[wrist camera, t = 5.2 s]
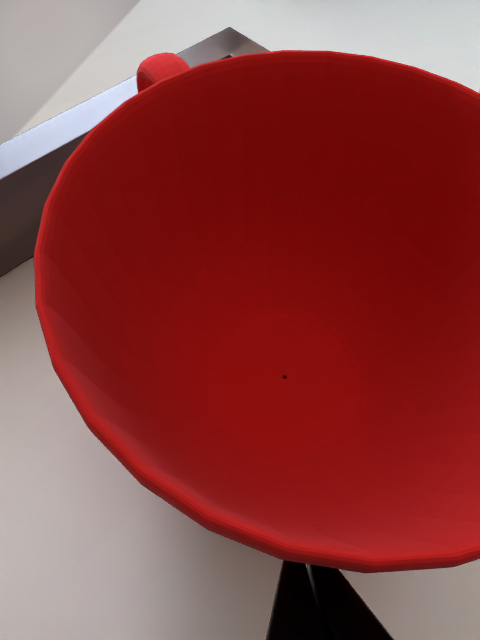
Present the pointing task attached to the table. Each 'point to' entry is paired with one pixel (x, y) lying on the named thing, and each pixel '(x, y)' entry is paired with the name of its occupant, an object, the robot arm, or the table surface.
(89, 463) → the table surface
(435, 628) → the table surface
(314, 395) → the ceramic cup
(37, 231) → the corner guide
